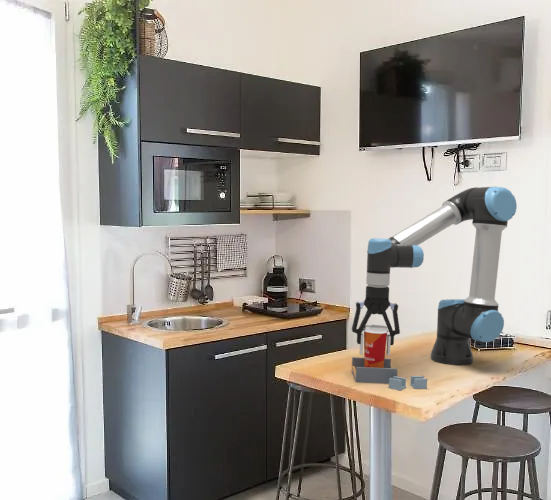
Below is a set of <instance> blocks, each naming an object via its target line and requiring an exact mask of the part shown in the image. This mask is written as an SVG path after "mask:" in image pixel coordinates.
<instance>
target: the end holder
mask: <svg viewBox="0 0 551 500" xmlns="http://www.w3.org/2000/svg"><path fill="white" fill-rule="evenodd" d="M391 365H392V359H391V358H385V359H384V368H372V367H365V365H364V357H359V356H358V357H357V356H352V358H351V373H352V375H353V379H354V382H355V383H363V384H365V383H366V384H368V383H369V384H384V385H385V384H386V385H389V378H393V376H397V377H398V368H394V367H393V368H392V367H391Z"/></svg>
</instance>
